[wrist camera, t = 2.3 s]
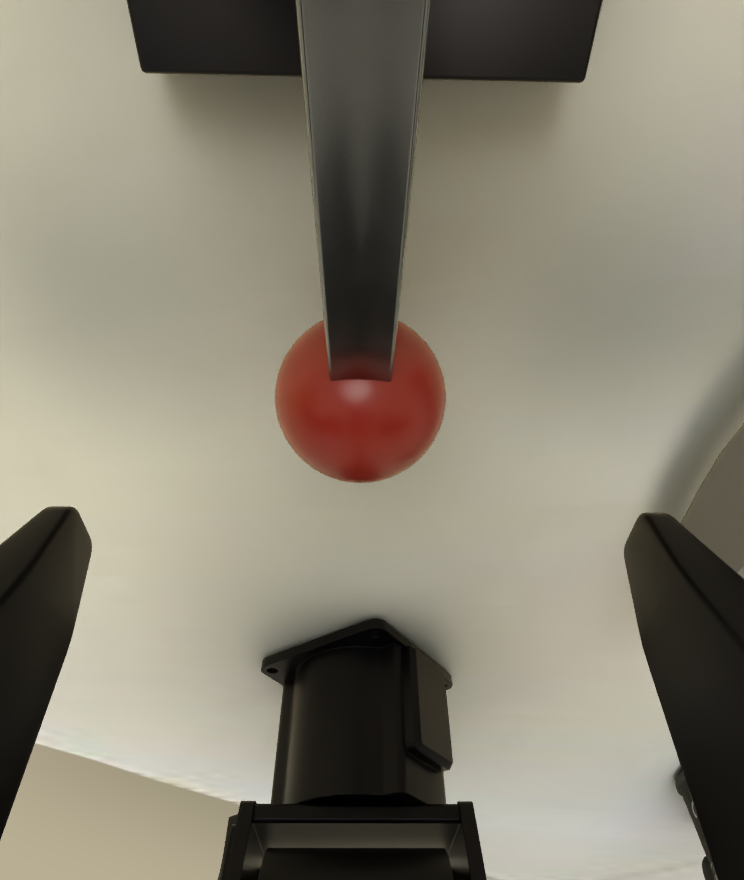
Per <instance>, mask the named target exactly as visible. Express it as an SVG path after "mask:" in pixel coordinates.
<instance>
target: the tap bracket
mask: <svg viewBox="0 0 744 880" xmlns="http://www.w3.org/2000/svg"><path fill="white" fill-rule="evenodd" d="M602 1H603V0H431V3H430V13H429V23H428V32H427V42H426V52H425V62H424V71H423V79H428V80H472V81H517V82H561V83H580V82H583V81H584V79H585V77H586V72H587V68H588V63H589V59H590V54H591V50H592V46H593V41H594V37H595V32H596V28H597V23H598V19H599V14H600V10H601V6H602ZM127 3H128V8H129V13H130V18H131V23H132V28H133V33H134V38H135V42H136V47H137V52H138V57H139V62H140V67H141V69H142V71H143V72H145V73H160V74H205V75H250V76H294V77H302V70H301V59H300V48H299V37H298V25H297V14H296V3H295V0H127Z"/></svg>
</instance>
